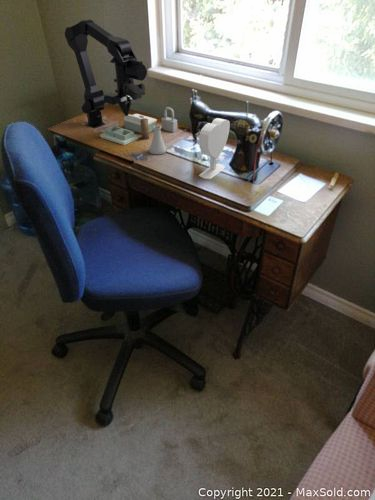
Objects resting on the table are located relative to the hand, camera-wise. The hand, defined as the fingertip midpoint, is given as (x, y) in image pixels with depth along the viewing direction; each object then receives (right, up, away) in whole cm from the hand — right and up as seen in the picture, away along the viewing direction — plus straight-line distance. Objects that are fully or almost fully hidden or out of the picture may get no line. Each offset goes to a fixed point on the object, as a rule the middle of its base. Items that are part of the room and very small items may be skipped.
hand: (126, 115), depth 158 cm
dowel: (+8, -9, +3) cm, 12 cm away
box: (+5, -2, +11) cm, 12 cm away
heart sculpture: (+35, -28, -21) cm, 49 cm away
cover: (+5, +1, +9) cm, 10 cm away
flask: (+14, -17, -7) cm, 23 cm away
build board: (-3, -9, +3) cm, 10 cm away
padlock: (+18, -3, +11) cm, 21 cm away
